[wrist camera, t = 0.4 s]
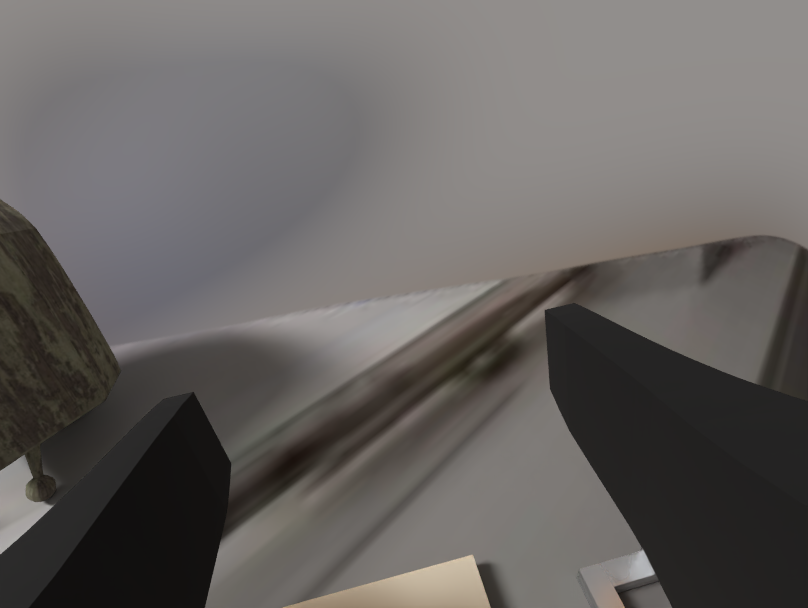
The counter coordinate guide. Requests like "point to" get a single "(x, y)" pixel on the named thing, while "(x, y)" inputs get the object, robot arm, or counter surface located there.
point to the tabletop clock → (43, 350)
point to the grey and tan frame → (615, 579)
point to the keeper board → (414, 590)
